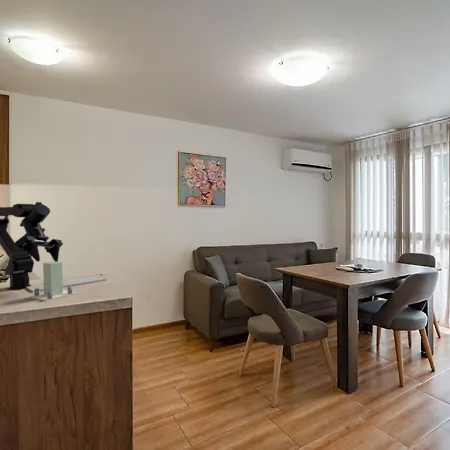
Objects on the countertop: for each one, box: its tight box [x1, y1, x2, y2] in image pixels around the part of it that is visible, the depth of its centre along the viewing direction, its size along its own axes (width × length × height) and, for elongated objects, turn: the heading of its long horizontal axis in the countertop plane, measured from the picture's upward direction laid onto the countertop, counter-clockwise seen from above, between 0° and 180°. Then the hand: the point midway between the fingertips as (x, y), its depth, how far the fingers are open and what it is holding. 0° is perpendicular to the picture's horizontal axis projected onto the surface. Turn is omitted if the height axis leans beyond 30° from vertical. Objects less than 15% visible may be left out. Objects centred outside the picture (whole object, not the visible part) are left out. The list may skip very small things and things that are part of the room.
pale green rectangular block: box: [42, 260, 64, 296], centre depth 119 cm, size 5×4×12 cm
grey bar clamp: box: [25, 274, 107, 294], centre depth 139 cm, size 31×3×12 cm
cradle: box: [30, 286, 77, 302], centre depth 119 cm, size 10×12×3 cm
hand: (48, 261), depth 122 cm, fingers open, 9 cm apart
